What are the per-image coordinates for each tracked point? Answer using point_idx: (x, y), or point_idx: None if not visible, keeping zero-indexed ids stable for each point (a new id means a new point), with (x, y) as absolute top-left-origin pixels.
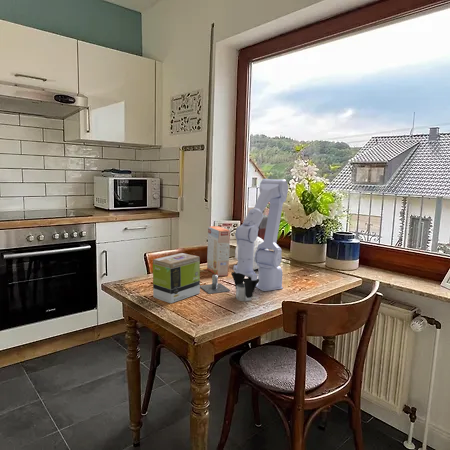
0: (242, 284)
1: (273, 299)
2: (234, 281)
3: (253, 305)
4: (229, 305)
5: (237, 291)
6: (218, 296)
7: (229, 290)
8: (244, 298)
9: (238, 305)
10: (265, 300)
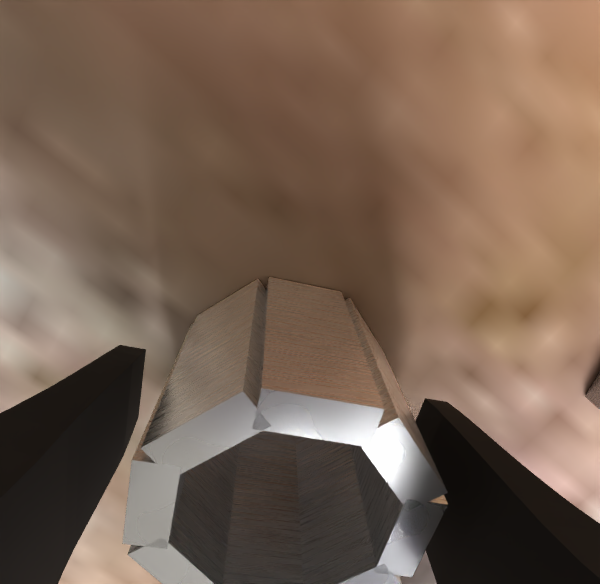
0: (381, 537)
1: (96, 573)
2: (568, 507)
3: (17, 315)
4: (169, 12)
5: (314, 338)
6: (575, 143)
7: (593, 396)
8: (191, 334)
9: (103, 143)
10: (107, 508)
